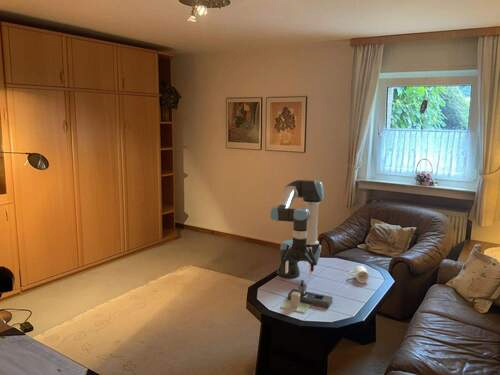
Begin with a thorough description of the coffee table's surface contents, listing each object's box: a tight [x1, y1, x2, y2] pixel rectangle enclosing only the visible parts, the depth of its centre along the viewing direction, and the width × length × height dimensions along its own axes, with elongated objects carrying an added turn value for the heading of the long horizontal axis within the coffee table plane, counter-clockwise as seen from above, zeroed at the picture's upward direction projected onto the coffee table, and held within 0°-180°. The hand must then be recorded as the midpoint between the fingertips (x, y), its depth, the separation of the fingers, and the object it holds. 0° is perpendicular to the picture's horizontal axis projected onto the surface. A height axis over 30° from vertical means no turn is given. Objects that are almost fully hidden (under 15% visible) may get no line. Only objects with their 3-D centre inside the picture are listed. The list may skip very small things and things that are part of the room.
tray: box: [279, 299, 311, 314], centre depth 226 cm, size 14×10×1 cm
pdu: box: [287, 279, 334, 309], centre depth 233 cm, size 24×8×12 cm, turn 64°
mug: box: [348, 265, 370, 283], centre depth 267 cm, size 12×10×8 cm
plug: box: [291, 291, 301, 309], centre depth 226 cm, size 4×4×8 cm
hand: (298, 274), depth 224 cm, fingers open, 13 cm apart
